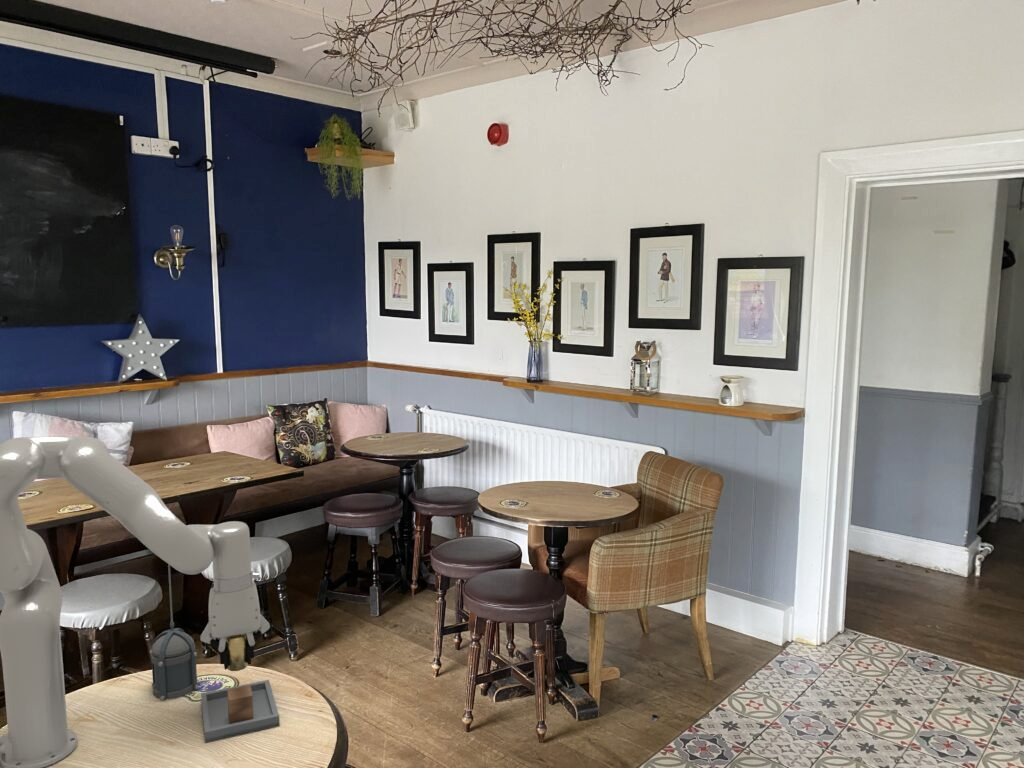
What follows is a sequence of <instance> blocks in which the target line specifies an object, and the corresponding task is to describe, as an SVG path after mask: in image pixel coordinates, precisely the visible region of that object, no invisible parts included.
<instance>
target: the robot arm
mask: <svg viewBox="0 0 1024 768" xmlns="http://www.w3.org/2000/svg"><path fill="white" fill-rule="evenodd" d="M53 479H63V480H65V482H67V484H69V485H70V486H71V487H73V488H74V489H75V490H76V491H78V492H80V493H81V494H82V495H83V496H84V497H86V498H87V499H88V500H90V501H91V502H93V503H94V504H95V505H97V506H98V507H100V508H101V509H102V510H104V511H105V512H106V513H107V514H109V515H110V516H111V517H113V518H114V519H115V520H116V521H118V523H120V524H121V525H122V526H123V527H124V528H125V529H126V530H127V532H129V533H130V534H131V535H133V536H134V537H135V538H137V540H138V541H140V543H141V544H143V546H145V547H146V548H147V549H148V550H150V551H151V552H152V553H153V554H154V555H155V556H157V557H158V558H160V559H161V560H162V561H164V562H165V563H166V564H169V565H170V567H172V568H174V569H175V570H176V571H178V572H179V573H182V574H185V575H198V574H201V573H203V572H204V571H206V570H207V569H208V568H209V567H210V566H211V564H212V576H213V587H211V588H210V590H209V594H208V596H209V597H208V622H207V624H206V626H205V628H204V630H203V631H202V633H201V634H200V636H199V639H200V641H201V642H203V643H205V644H209V645H210V646H211V647H213V648H215V649H216V650H218V652H219V662H220V665H223V668H224V670H228V654H227V649H226V637H230V636H235V635H241V634H246V649H247V665H252V659H255V652H254V649H255V648H254V646H255V644H256V642H257V641H258V640H259V639H260V637H262V635H263V634H264V633H266V632H268V631H269V629H270V628H271V625H270V622H268V620H267V619H266V618H265V617H264V616H263V615H262V614H261V607H260V600H259V594H258V589H257V585H256V582H255V580H257V579H259V578H260V573H259V571H257V572H255V571H253V570H252V557H251V554H252V553H251V538H250V528H249V526H248V524H247V523H246V522H244V521H238V520H237V521H236V520H233V521H232V520H231V521H226V522H222V523H218V524H188V525H186V524H185V523H184V522H182V520H180V519H179V518H178V517H177V516H176V515H175V514H174V513H173V512H172V511H171V510H170V509H169V508H168V506H166V504H165V503H164V501H163V499H162V498H161V497H160V495H159V494H158V492H157V491H156V489H154V487H152V486H151V485H150V484H149V483H147V482H146V481H144V480H143V479H142V478H141V477H139V476H138V475H137V474H135V473H134V472H133V471H132V470H130V469H129V468H128V467H126V466H125V465H124V464H123V463H122V462H120V461H119V460H118V459H116V458H115V457H114V456H113V455H112V454H110V449H109V448H108V447H107V444H106V443H104V442H103V441H102V440H101V439H98V438H95V437H92V436H79V435H78V436H23V437H22V436H20V437H14V438H10V439H7V440H5V441H3V442H2V443H1V444H0V593H1V594H2V597H3V599H4V605H3V606H2V610H1V612H0V655H1V656H0V657H1V665H2V673H3V675H2V676H3V683H4V684H3V685H4V696H5V709H6V720H7V721H6V722H7V733H6V734H2V736H1V737H0V766H1V767H2V768H46V767H48V766H51V765H53V764H55V763H58V762H60V761H62V760H63V759H64V758H66V757H67V756H69V755H70V754H71V753H73V751H74V750H75V749H76V747H77V746H78V741H79V740H78V739H79V737H78V734H77V732H75V731H74V730H72V729H69V728H68V719H67V716H68V715H67V704H66V701H67V700H66V689H65V687H66V686H65V675H64V663H63V662H64V661H63V659H64V658H63V649H62V640H61V624H60V623H61V621H60V620H61V614H62V613H61V612H62V605H63V591H62V589H61V585H60V582H59V578H58V576H57V574H56V570H55V568H54V564H53V562H52V559H51V556H50V554H49V550H48V548H47V545H46V542H45V541H44V538H42V537H41V536H40V535H39V533H37V532H36V531H34V530H32V529H29V528H28V527H27V524H26V520H25V516H24V514H23V511H22V510H21V507H20V505H19V497H20V495H21V493H22V492H23V491H24V490H26V489H27V488H29V487H30V486H31V485H32V484H33V483H34V482H35V480H53Z"/></svg>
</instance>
